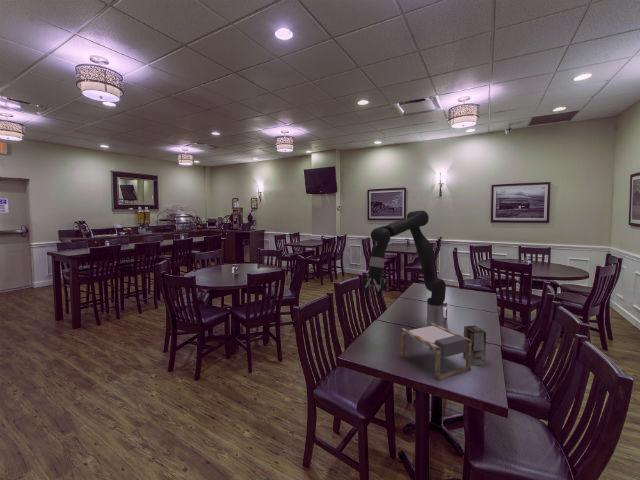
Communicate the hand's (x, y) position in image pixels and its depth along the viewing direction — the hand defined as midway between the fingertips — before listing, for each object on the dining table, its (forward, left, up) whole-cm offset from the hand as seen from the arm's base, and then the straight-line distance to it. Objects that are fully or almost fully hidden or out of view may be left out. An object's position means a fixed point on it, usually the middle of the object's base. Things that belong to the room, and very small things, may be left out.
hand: (372, 296), depth 159 cm
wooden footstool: (-19, +24, -29) cm, 42 cm away
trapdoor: (-19, +26, -19) cm, 37 cm away
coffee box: (-38, +31, -29) cm, 57 cm away
